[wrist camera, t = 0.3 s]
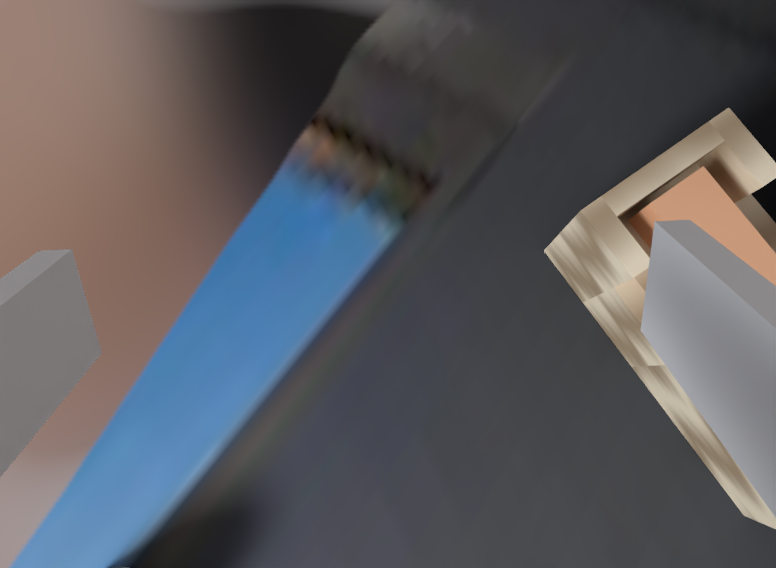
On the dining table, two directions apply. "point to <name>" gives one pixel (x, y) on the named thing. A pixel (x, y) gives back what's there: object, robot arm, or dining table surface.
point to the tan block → (709, 220)
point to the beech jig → (631, 263)
